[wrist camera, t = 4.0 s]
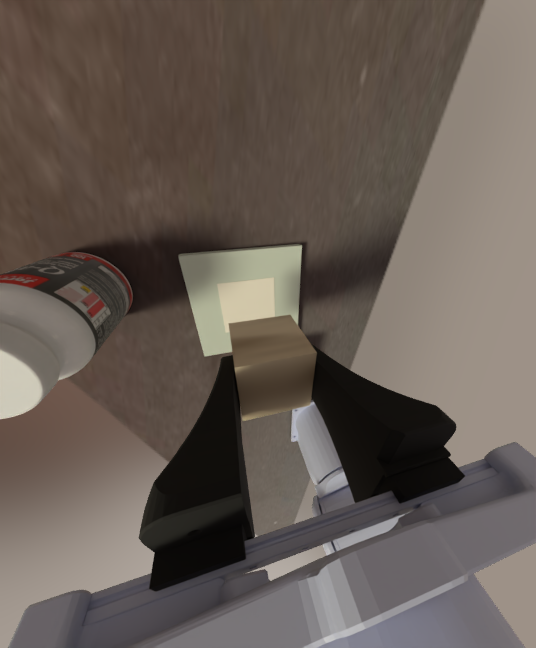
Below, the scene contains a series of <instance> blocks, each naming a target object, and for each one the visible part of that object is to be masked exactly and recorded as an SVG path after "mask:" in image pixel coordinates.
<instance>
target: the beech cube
mask: <svg viewBox="0 0 536 648" xmlns="http://www.w3.org/2000/svg"><path fill="white" fill-rule="evenodd" d="M228 324H229V331H230V338H231V346H232V353H233V360H234V367H235V374H236V380H237V387H238V393H239V399H240V406H241V412H242V419H243V421H246V420H250V419H254V418H258V417H263V416H267V415H271V414H275V413H280V412H284V411H288V410H292V409H297V408H301V407H305V406H309V405H310V403H311V395H312V387H313V379H314V371H315V364H316V356H317V352H316V351H315V349H314V348H313V346H312V345H311V344H310V342H309V341H308V339H307V338H306V336H305V335H304V334H303V332H302V331H301V329H300V328H299V326H298V325H297V324H296V322H295V321H294V319H293V318H292V316H291V315H284V316H277V317H270V318H263V319H256V320H249V321H242V322H235V323H228Z"/></svg>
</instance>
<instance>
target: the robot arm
mask: <svg viewBox="0 0 536 648" xmlns="http://www.w3.org/2000/svg"><path fill="white" fill-rule="evenodd" d="M310 344H311V343H310ZM311 345H312V344H311ZM312 346H313V348H314V349H315V351H316V352H317V356H316V364H315V371H314V379H313V387H312V395H311V397H312V399H313V400H311V403H310V405H309V406H305V407H301V408H297V409H292V425H291V441H292V442H294V441H298V443H299V446H300V449H301V452H302V455H303V457H304V460H305V463H306V466H307V469H308V472H309V474H310V477H311V479H312V481H313V482H314V484H315V485H316V486H315V489H316V492H317V496H314V498H313V504H312V511H313V518H310V519H308V520H305V521H302V522H299V523H296V524H293V525H290V526H287V527H284V528H281V529H278V530H276V531H273V532H270V533H267V534H264V535H261V536H258V537H255V534H254V527H253V519H252V512H251V505H250V497H249V490H248V483H247V475H246V468H245V460H244V453H243V445H242V435H241V415H240V399H239V393H238V387H237V380H236V374H235V367H234V360H233V355H232V356H226V357H222V358H221V363H220V368H219V371H218V375H217V378H216V381H215V384H214V386H213V389H212V391H211V394H210V396H209V398H208V401H207V403H206V405H205V407H204V409H203V411H202V413H201V415H200V417H199V418H198V420H197V422H196V424H195V425H194V427H193V429H192V430H191V432H190V434H189V435H188V437H187V438H186V440H185V441H184V443H183V444H182V445H181V447H180V448H179V450H178V451H177V453H176V454H175V456H174V457H173V458H172V460H171V461H170V462H169V464H168V465H167V466H166V468H165V469H164V470H163V471H162V473H161V474H160V475H159V476H158V478H157V479H156V480H155V482H154V484H153V486H152V489H151V492H150V494H149V497H148V500H147V504H146V507H145V510H144V515H143V519H142V524H141V529H140V535H139V539H140V540H141V542H142V543H143V544H144V545H145V546H147V547H148V548H149V549H151V550H152V551H153V552H155V554H154V561H153V567H152V573H151V574H148V575H145V576H142V577H139V578H136V579H133V580H130V581H128V582H125V583H122V584H119V585H116V586H113V587H110V588H107V589H104V590H101V591H99V592H95V593H93V594H91V593H90V592H89V591H86V590H77V591H71V592H68V593H65V594H62V595H59V596H56V597H53V598H50V599H47V600H44V601H41V602H38V603H35V604H32V605H30V606H29V607H28V608H27V609H26V610H25V611H24V613H23V616H22V618H21V620H20V622H19V624H18V627H17V629H16V631H15V633H14V635H13V637H12V640H11V642H10V644H9V646H8V648H525V647H524V645H523V644H522V642H521V641H520V640H519V638H518V637H517V635H516V634H515V633H514V631H513V629H512V628H511V627H510V625H509V624H508V622H507V621H506V619H505V618H504V617H503V615H502V614H501V612H500V611H499V609H498V608H497V607H496V605H495V604H494V602H493V601H492V599H491V598H490V597H489V595H488V594H487V592H486V591H485V589H484V588H483V587H482V585H481V584H480V583H479V581H478V580H477V578H476V577H475V575H474V573H476V572H478V571H480V570H482V569H484V568H486V567H488V566H490V565H492V564H494V563H496V562H498V561H500V560H502V559H504V558H506V557H508V556H510V555H512V554H514V553H516V552H518V551H520V550H522V549H524V548H526V547H528V546H530V545H533V544H534V543H536V457H534V456H533V455H532V454H531V453H529V452H528V451H527V450H525V449H524V448H523V447H522V446H520V445H519V444H518V443H516V442H513V443H510V444H507V445H504V446H501V447H498V448H496V449H494V450H492V451H491V452H489V453H488V454H487V455H486V456H485V458H484V459H482V460H479V461H476V462H473V463H470V464H467V465H464V466H462V467H459V468H458V467H457V466H456V465H455V464H454V463H453V462H452V461H451V460H450V459H449V458H448V457H450V455H451V454H450V452H449V451H448V450H447V449H446V448H445V447H444V445H445V444H446V443H447V442H448V440H449V439H450V438H451V437H452V435H453V434H454V432H455V431H456V424H455V422H454V421H453V420H451V419H450V418H449V417H448V416H447V415H446V414H445V413H444V412H443V411H442V410H440V408H438V407H437V406H435V405H432V404H429V403H425V402H422V401H419V400H416V399H413V398H410V397H407V396H404V395H402V394H399V393H396V392H394V391H391V390H389V389H386V388H384V387H382V386H380V385H377V384H375V383H373V382H371V381H369V380H367V379H365V378H363V377H361V376H359V375H357V374H355V373H354V372H352V371H350V370H349V369H347V368H345V367H344V366H342V365H341V364H339V363H338V362H336V361H335V360H333V359H332V358H330V357H329V356H327V355H326V354H325V353H323V352H322V351H320V350H319V349H318V348H316V347H315V346H314V345H312ZM254 537H255V538H254ZM319 545H323V548H324V550H325V552H326V555H327V556H325V557H323V558H320V559H318V560H316V561H314V562H311V563H309V564H307V565H305V566H303V567H300V568H298V569H296V570H294V571H292V572H290V573H287V574H285V575H283V576H281V577H279V578H277V579H274V580H272V581H270V580H269V579H268V574H267V571H266V570H265V569H264V570H259V571H255V572H250V571H252V570H255V569H258V568H261V567H263V566H266V565H269V564H271V563H274V562H277V561H279V560H282V559H285V558H288V557H290V556H293V555H296V554H298V553H301V552H303V551H306V550H309V549H312V548H314V547H317V546H319ZM247 572H250V573H247ZM245 573H246V574H245Z"/></svg>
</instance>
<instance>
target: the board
mask: <svg viewBox="0 0 536 648" xmlns="http://www.w3.org/2000/svg"><path fill="white" fill-rule="evenodd" d="M301 254H302V245H300V244H290V245H279V246H267V247H255V248H244V249H232V250H220V251H209V252H197V253H185V254H179V256H178V258H179V262H180V265H181V269H182V273H183V277H184V281H185V284H186V288H187V292H188V296H189V299H190V303H191V307H192V311H193V315H194V318H195V322H196V326H197V330H198V333H199V337H200V341H201V345H202V349H203V352H204V356H210V355H216V354H222V353H227V352H232V346H231V338H230V331H229V324H228V323H235V322H242V321H249V320H256V319H263V318H270V317H277V316H284V315H291V316H292V318H293V319H294V321H295V322H296V324H297V325H298V313H299V293H300V274H301Z"/></svg>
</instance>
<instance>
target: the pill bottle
mask: <svg viewBox="0 0 536 648" xmlns="http://www.w3.org/2000/svg"><path fill="white" fill-rule="evenodd" d="M132 300H133V293H132V289H131V286H130V284H129V282H128V280H127V278H126V277H125V276H124V274H123V273H122V272H121V271H120V270H119V269H118V268H116V267H115V266H114V265H112V264H111V263H109V262H108V261H106V260H104V259H102V258H100V257H97V256H95V255H91V254H87V253H81V252H67V253H61V254H58V255H54V256H51V257H48V258H46V259H43V260H40V261H37V262H35V263H32V264H29V265H26V266H23V267H21V268H18V269H15V270H12V271H9V272H6V273H4V274H1V275H0V419H4V418H9V417H14V416H17V415H20V414H23V413H25V412H27V411H29V410H31V409H32V408H34V407H35V406H36V405H38V404H39V403H40V402H41V401H42V400H43V398H44V397H45V396H46V395H47V394H48V393H49V392H50V391H51V389H52V388H53V387H54V386H55V385H56V383H57V381H58V380H61V379H64V378H66V377H69V376H71V375H73V374H75V373H76V372H78V371H79V370H81V369H82V368H83V367H84V366H85V365H86V364H87V363H88V362H89V361H90V360H91V359H92V357H93V356H94V355H95V354H96V352H97V351H98V350H99V348H100V347H101V346H102V344H103V343H104V342H105V340H106V339H107V338H108V337H109V335H110V334H111V333H112V331H113V330H114V329H115V328H116V326H117V325H118V324H119V322H120V321H121V320H122V319H123V317H124V316H125V315H126V314H127V312H128V311H129V309H130V307H131V304H132Z"/></svg>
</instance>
